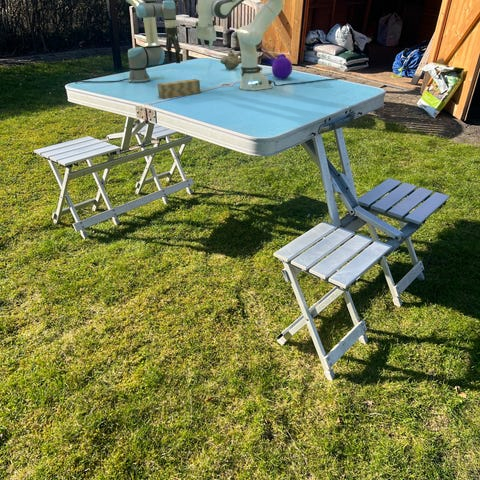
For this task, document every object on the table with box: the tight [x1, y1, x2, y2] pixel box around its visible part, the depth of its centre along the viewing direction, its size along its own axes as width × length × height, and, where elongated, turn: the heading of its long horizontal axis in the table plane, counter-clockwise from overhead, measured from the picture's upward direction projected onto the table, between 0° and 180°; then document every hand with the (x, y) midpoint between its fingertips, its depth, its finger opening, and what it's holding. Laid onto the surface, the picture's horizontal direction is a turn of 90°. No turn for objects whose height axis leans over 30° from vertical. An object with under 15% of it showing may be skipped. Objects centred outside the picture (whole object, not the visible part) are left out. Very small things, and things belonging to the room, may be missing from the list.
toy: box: [260, 53, 293, 80], centre depth 336 cm, size 16×18×27 cm
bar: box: [156, 78, 201, 100], centre depth 295 cm, size 28×6×8 cm, turn 122°
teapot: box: [220, 49, 241, 71], centre depth 371 cm, size 21×12×15 cm, turn 120°
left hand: (174, 62), depth 302 cm, fingers open, 13 cm apart
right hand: (207, 47), depth 290 cm, fingers open, 8 cm apart
